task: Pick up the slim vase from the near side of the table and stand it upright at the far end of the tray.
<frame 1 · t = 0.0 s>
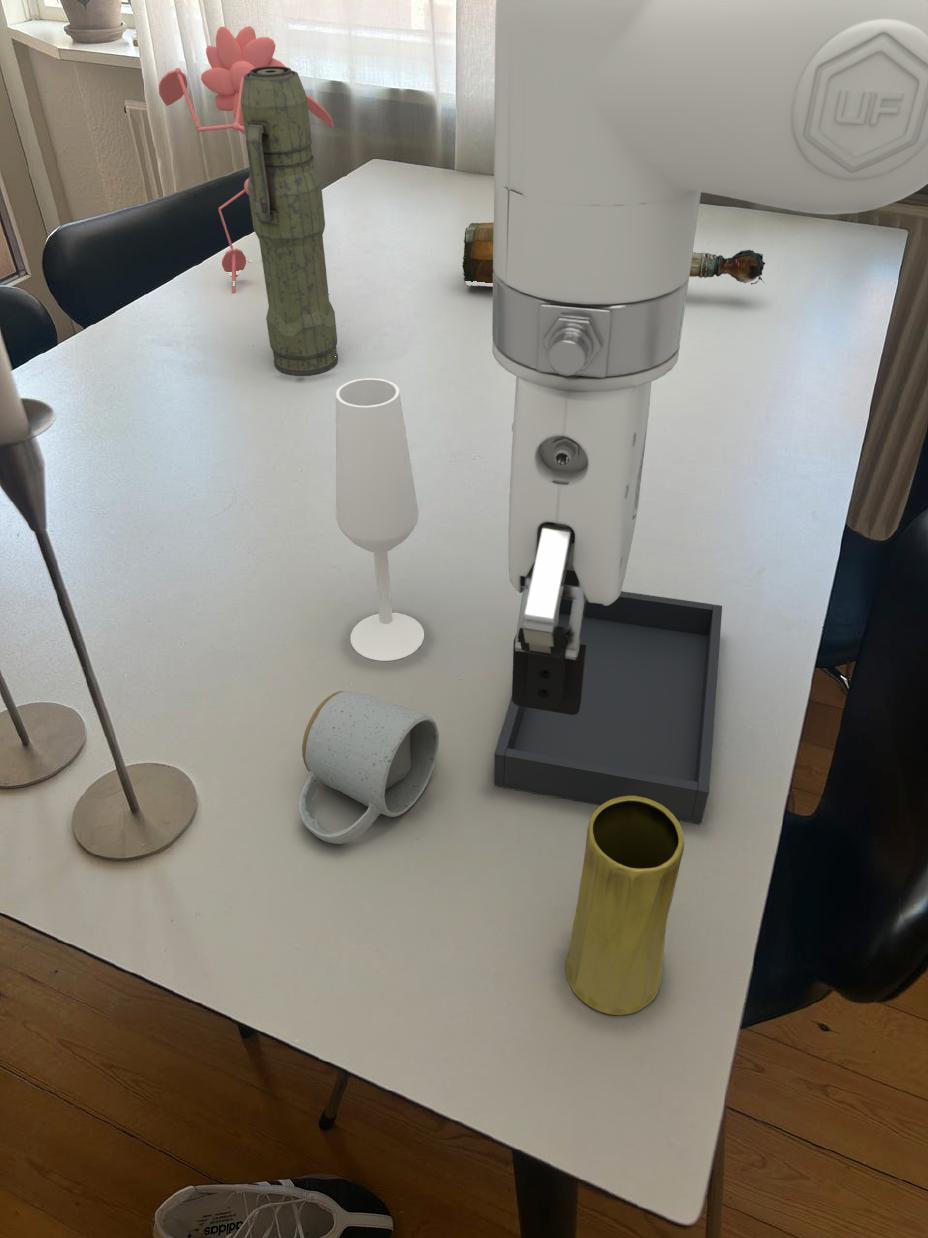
hand: (563, 640, 49), 25 cm above the table, tool pointing down, fingers open, 9 cm apart
figurine: (276, 279, 155), on the table
decorative bottle: (608, 297, 148), on the table
vase: (612, 973, 62), on the table
champagne flute: (387, 637, 87), on the table
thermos: (306, 362, 131), on the table
ceramic mug: (366, 797, 73), on the table
tray: (613, 705, 80), on the table
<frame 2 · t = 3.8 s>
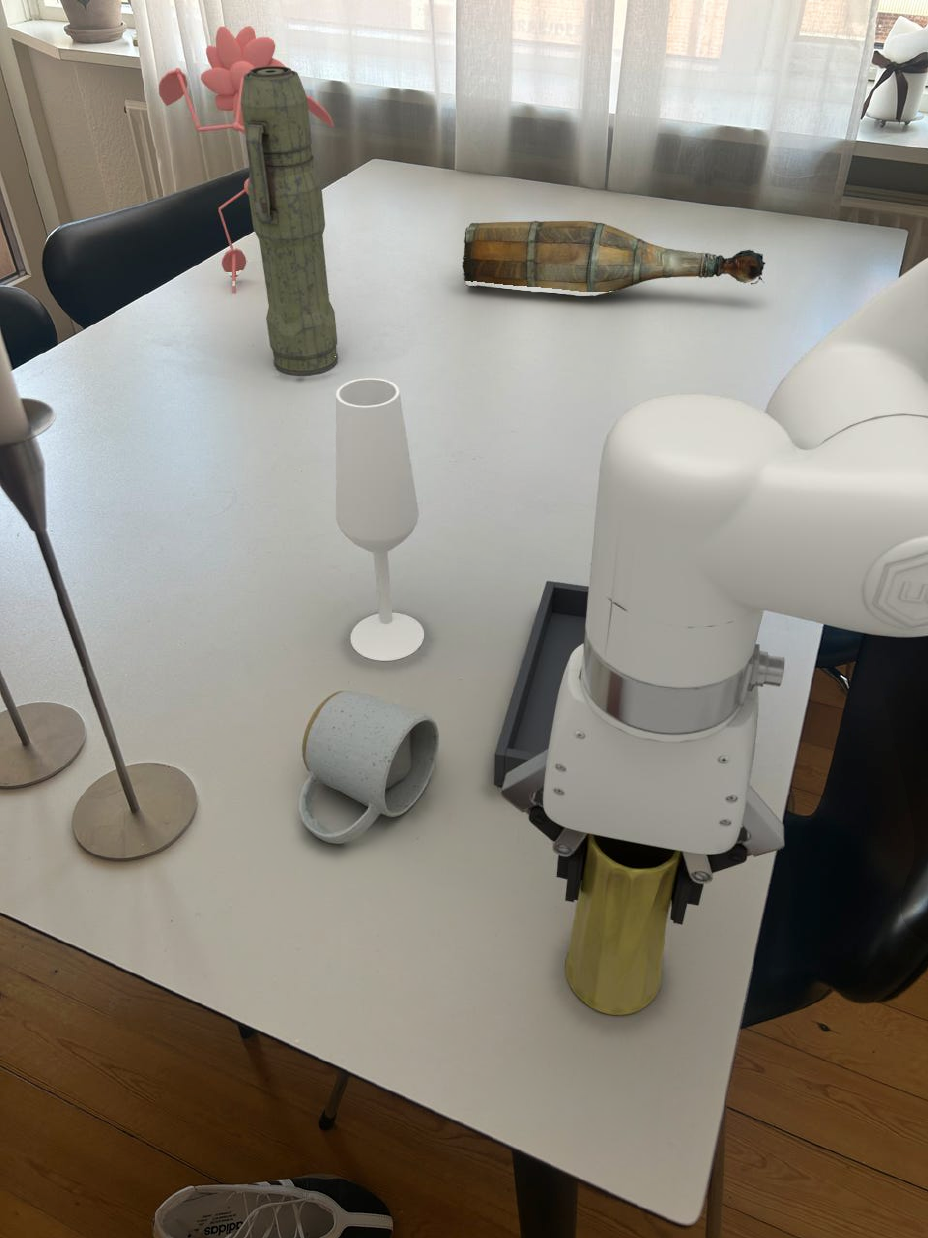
hand: (626, 890, 56), 9 cm above the table, tool pointing down, fingers closed on vase, 5 cm apart
vase: (612, 973, 62), on the table, touching gripper
everything else where it was.
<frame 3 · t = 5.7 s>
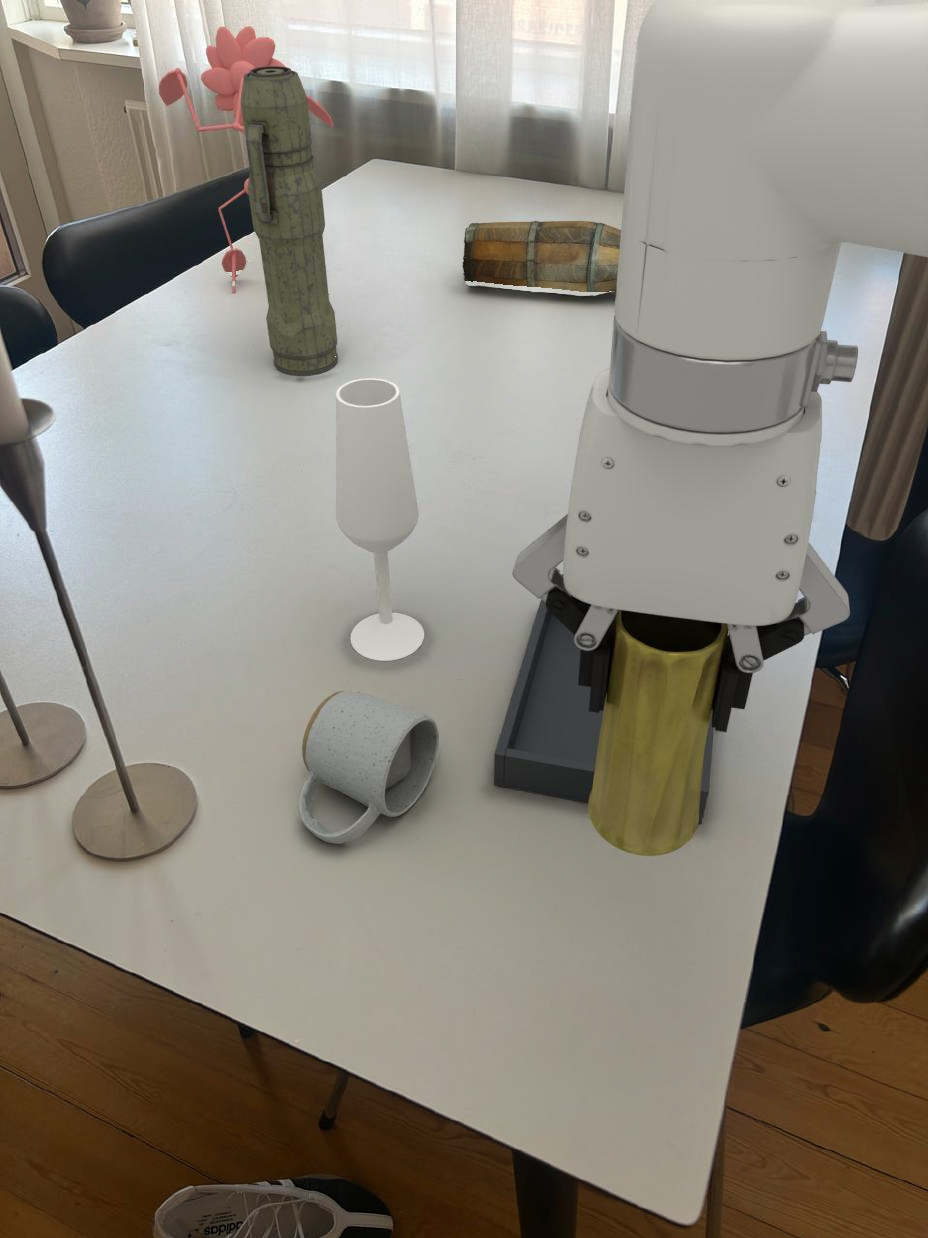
hand: (659, 699, 48), 23 cm above the table, tool pointing down, fingers closed on vase, 5 cm apart
vase: (641, 815, 54), point 14 cm above the table, touching gripper
everything else where it was.
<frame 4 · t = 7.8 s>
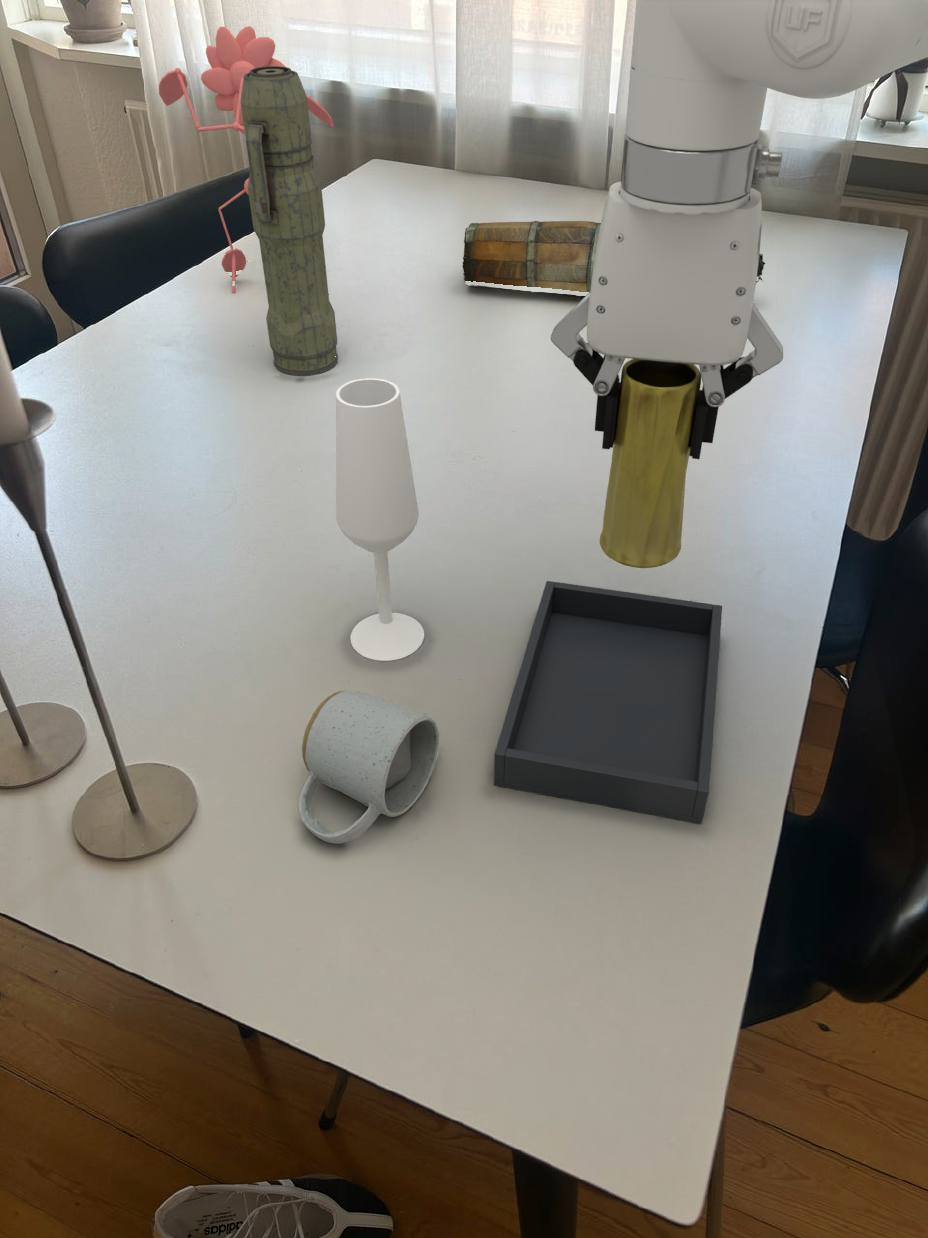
hand: (652, 442, 68), 23 cm above the table, tool pointing down, fingers closed on vase, 5 cm apart
vase: (639, 547, 73), point 14 cm above the table, touching gripper
everything else where it was.
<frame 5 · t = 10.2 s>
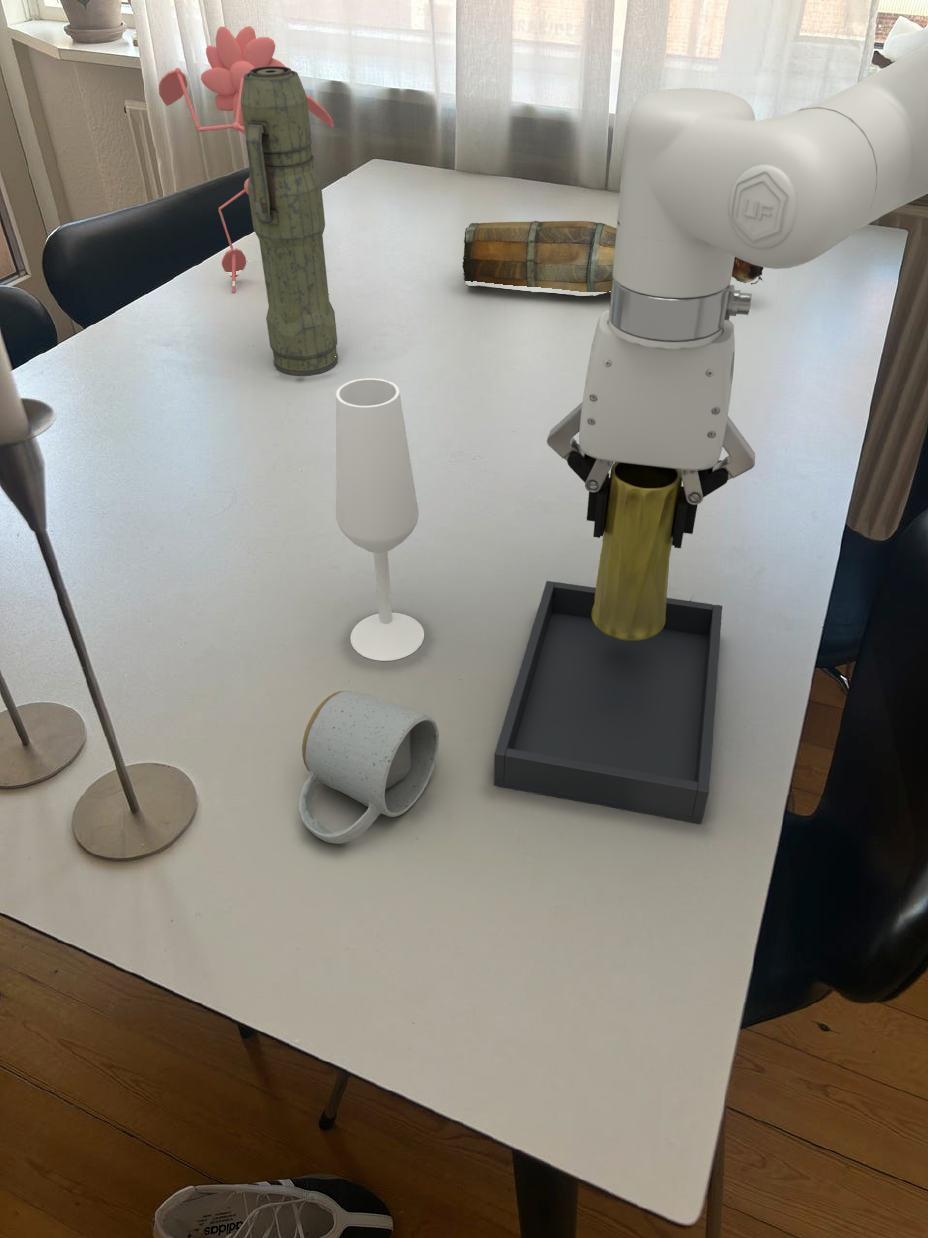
hand: (638, 530, 75), 14 cm above the table, tool pointing down, fingers closed on vase, 5 cm apart
vase: (627, 620, 81), point 5 cm above the table, touching gripper
everything else where it was.
when the fingers open (9 cm above the table, at t = 11.9 s): vase stays where it is, resting on tray.
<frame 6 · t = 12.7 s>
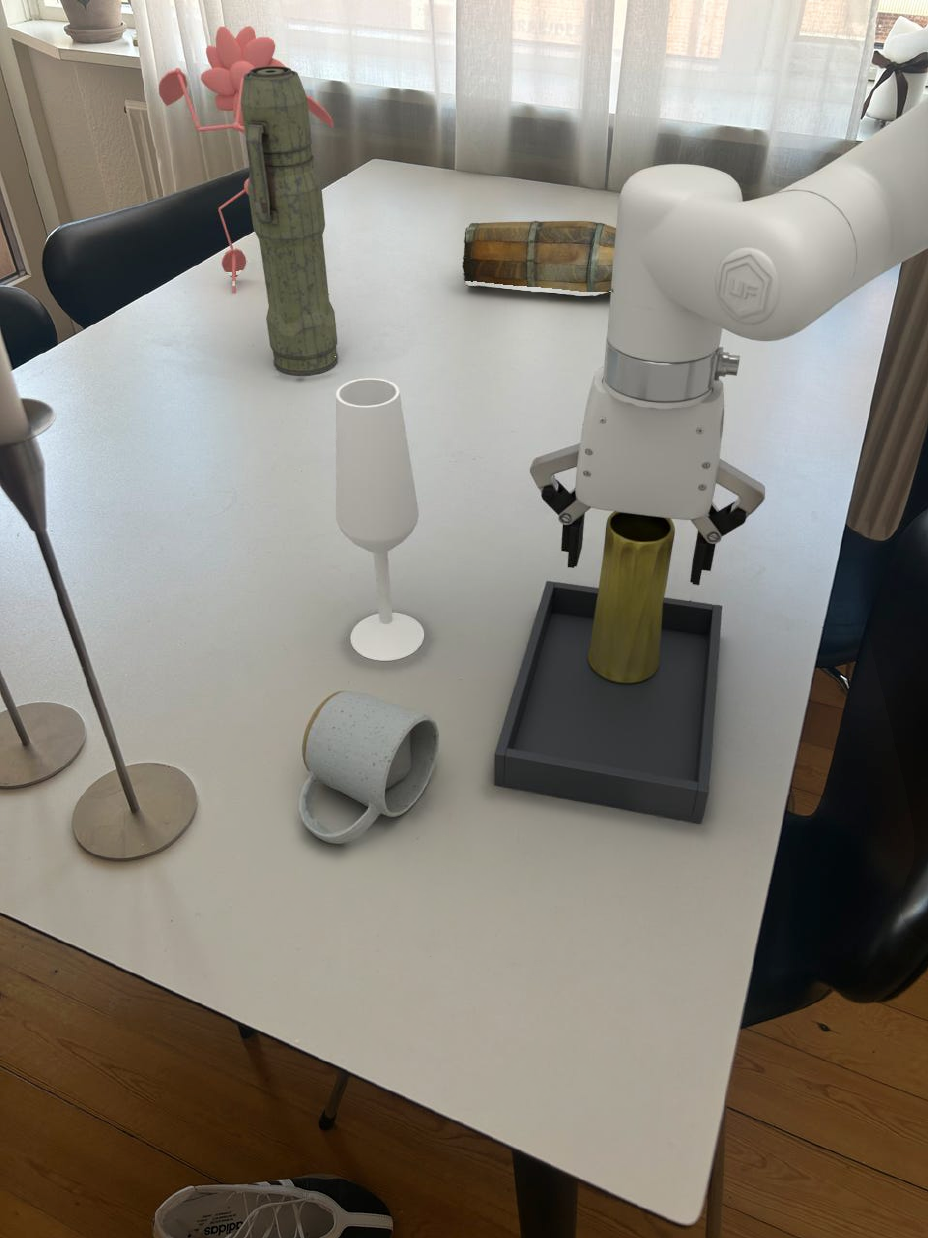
hand: (634, 566, 77), 11 cm above the table, tool pointing down, fingers open, 9 cm apart
vase: (622, 662, 84), resting on tray
everything else where it was.
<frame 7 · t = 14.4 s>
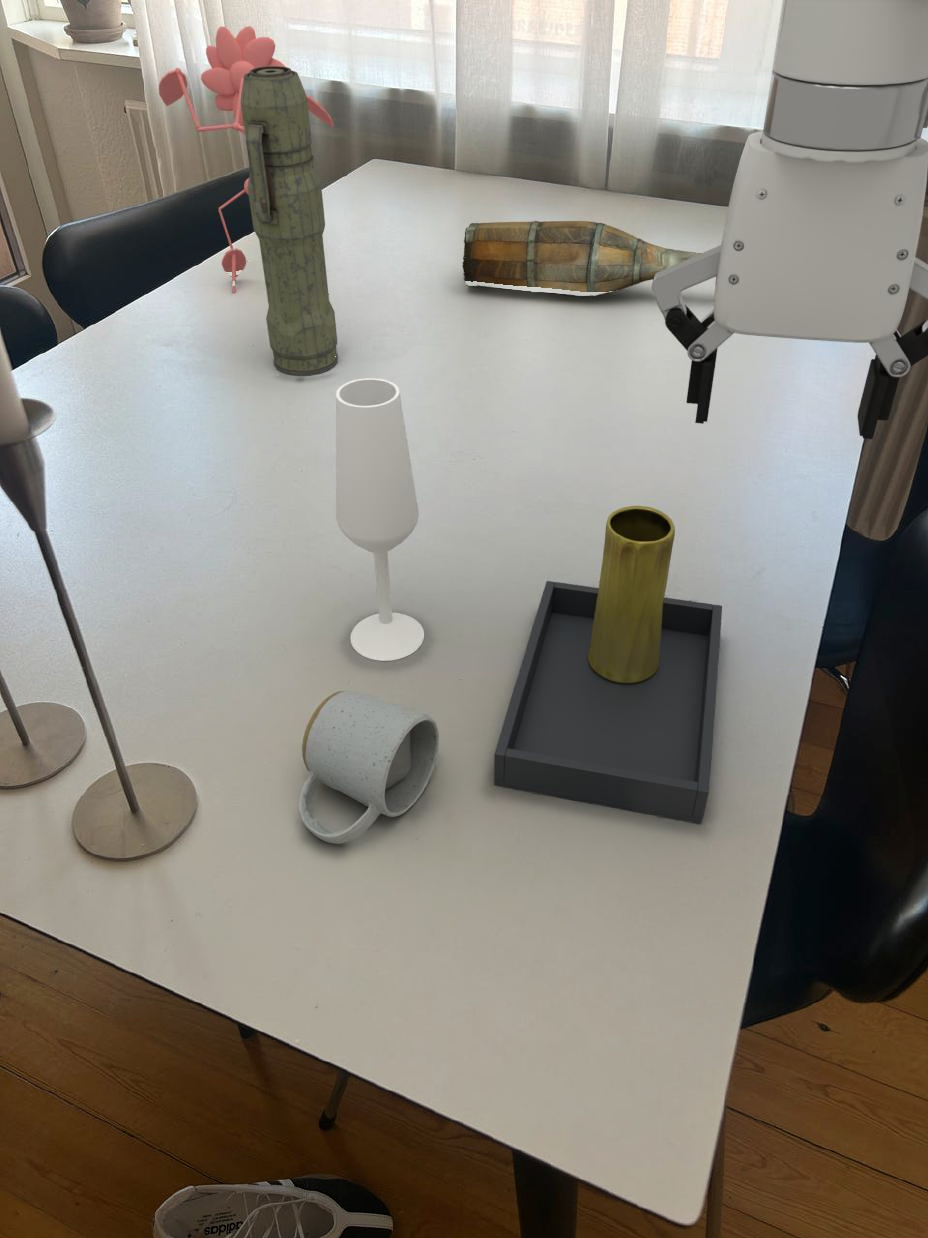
hand: (781, 420, 59), 28 cm above the table, tool pointing down, fingers open, 9 cm apart
nothing on the table moved.
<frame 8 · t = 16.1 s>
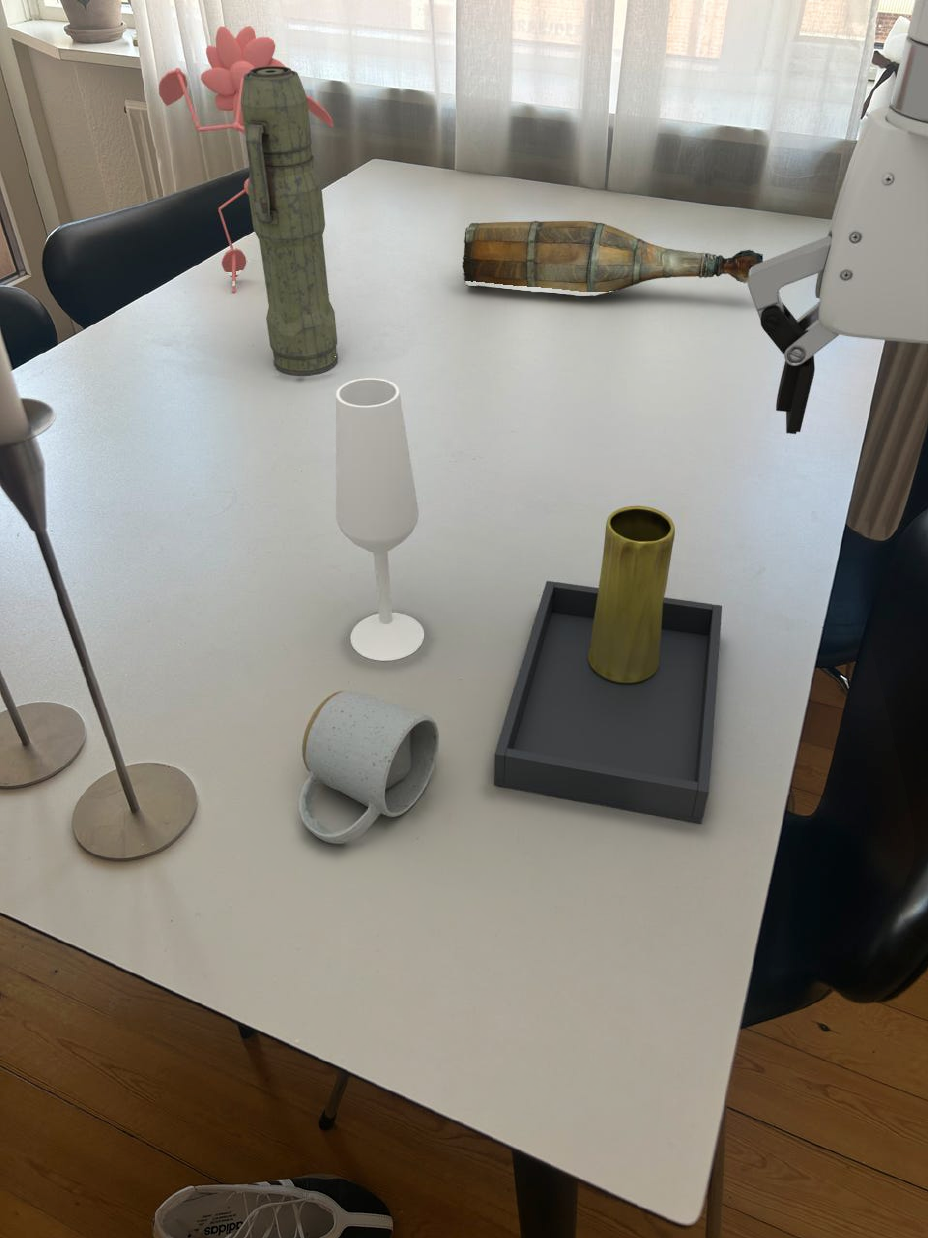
hand: (881, 431, 54), 30 cm above the table, tool pointing down, fingers open, 9 cm apart
nothing on the table moved.
at the end: vase inside the target area in the tray (0.1 cm from its centre), point 0.4 cm above the tray's base; vase tilted 0°; the gripper is holding nothing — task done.
